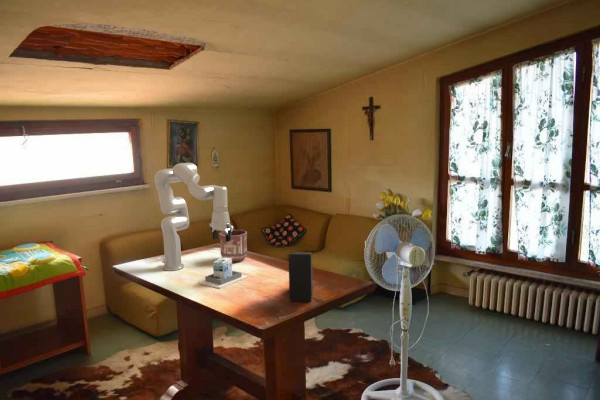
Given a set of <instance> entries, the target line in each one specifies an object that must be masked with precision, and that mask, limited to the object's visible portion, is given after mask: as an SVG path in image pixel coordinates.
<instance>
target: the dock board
mask: <svg viewBox="0 0 600 400" xmlns="http://www.w3.org/2000/svg"><path fill="white" fill-rule="evenodd" d="M204 277H205V278H204V279H203V280H200V281H198V285H199V284H200V285H203V286H208V287H212V288H216V289H223V288H225V287H228V286H231V285H233V284H236V283H238V282H241V281H242V280H243V281H244V280H245V279H249V276H248V275H245V274H243V273H242V272H241V271H236V270H232V276H229V277H227V278H224V279H216V278H214V273H212V274H208V275H206V276H204Z"/></svg>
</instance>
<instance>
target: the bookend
mask: <svg viewBox="0 0 600 400" xmlns="http://www.w3.org/2000/svg"><path fill="white" fill-rule="evenodd" d="M312 254H313V253H312V252H298V251H297V252H295V251H294V253H288V283H289V284H288V285H289V289H288V291H289V302H312V298H313V291H314V281H313V280H314V279H313V265H312V264H313V259H312V258H313V256H312ZM312 290H313V291H312Z"/></svg>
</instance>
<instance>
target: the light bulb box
mask: <svg viewBox="0 0 600 400" xmlns="http://www.w3.org/2000/svg"><path fill="white" fill-rule="evenodd" d="M212 264H213V266H212V269H213V274H214V278H216V279H224V278H227V277H229V276H232V271H233V263H232V258H224V257H222V256H221V257H220V258H217V259H216V260H214V261H213V262H212Z"/></svg>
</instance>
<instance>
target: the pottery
mask: <svg viewBox="0 0 600 400" xmlns="http://www.w3.org/2000/svg"><path fill="white" fill-rule="evenodd" d="M227 232H228V230H227ZM218 235H219V236H218V238H219V243H220V245H219V246H220V256H221V257H224V258H232V264H235V263H240V262H242V261H244V260H245V258H247V255H248V244H247V243H248V240H247V239H248V231H246V230H243V229H233V231H232V233H231V234H230V236H231V241H229V242H226V236H225V235H226V233H225V231H220V232H218Z"/></svg>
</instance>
